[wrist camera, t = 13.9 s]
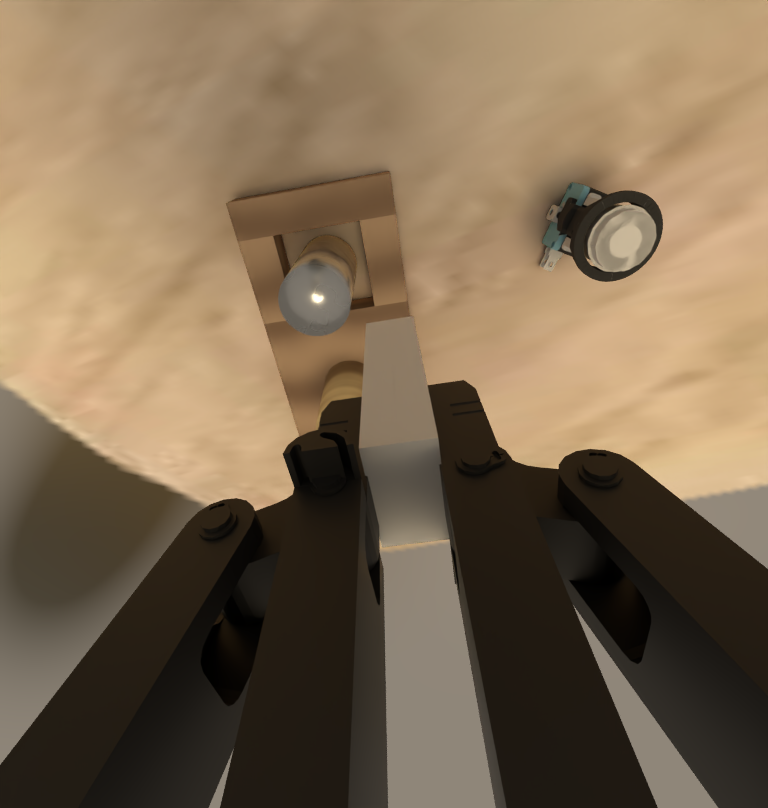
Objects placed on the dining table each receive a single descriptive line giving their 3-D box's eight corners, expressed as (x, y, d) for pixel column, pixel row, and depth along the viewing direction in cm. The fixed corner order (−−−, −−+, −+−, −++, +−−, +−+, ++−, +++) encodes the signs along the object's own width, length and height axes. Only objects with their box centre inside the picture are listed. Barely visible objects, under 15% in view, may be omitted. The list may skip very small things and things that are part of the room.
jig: (235, 199, 34) (188, 218, 25) (389, 171, 33) (393, 182, 25) (306, 431, 45) (289, 499, 37) (422, 414, 44) (433, 480, 36)
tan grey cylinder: (295, 240, 36) (269, 272, 27) (350, 230, 35) (342, 260, 27) (309, 295, 38) (289, 341, 29) (361, 287, 38) (356, 330, 29)
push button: (568, 275, 37) (625, 315, 29) (511, 255, 37) (553, 290, 28) (612, 193, 34) (691, 211, 26) (552, 168, 33) (612, 179, 25)
